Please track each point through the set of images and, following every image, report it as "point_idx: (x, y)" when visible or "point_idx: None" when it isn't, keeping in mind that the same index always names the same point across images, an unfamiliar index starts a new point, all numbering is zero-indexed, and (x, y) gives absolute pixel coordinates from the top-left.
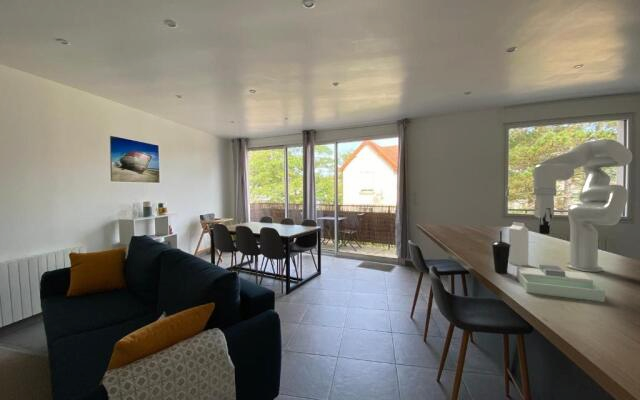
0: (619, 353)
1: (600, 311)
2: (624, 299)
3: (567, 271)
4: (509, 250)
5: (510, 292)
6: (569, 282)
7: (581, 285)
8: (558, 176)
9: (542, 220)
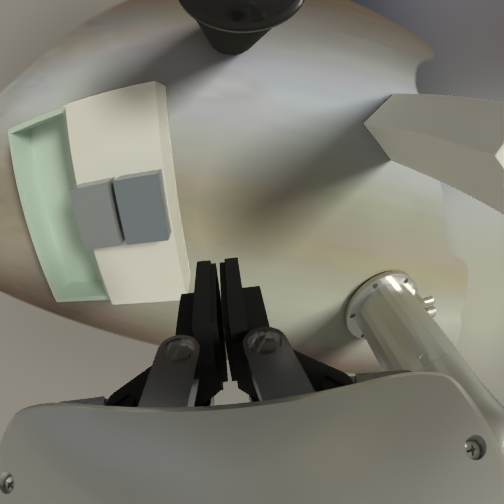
0: None
1: (13, 262)
2: (115, 323)
3: (177, 260)
4: (229, 35)
5: (14, 90)
6: None
7: None
8: None
9: (146, 397)
